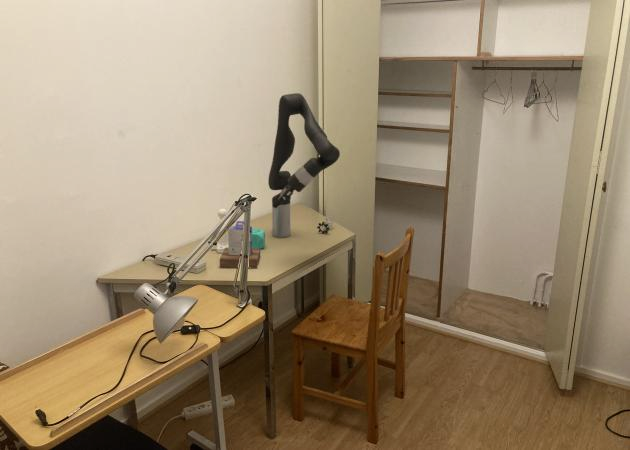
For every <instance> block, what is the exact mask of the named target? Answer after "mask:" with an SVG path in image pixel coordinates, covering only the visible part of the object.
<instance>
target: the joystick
mask: <svg viewBox="0 0 630 450" xmlns="http://www.w3.org/2000/svg"><path fill="white" fill-rule="evenodd" d="M226 213H227V214H228V210H227V209H225V208H220V209H219V210H217V216H218V217H219V221H220V220H221V219H222V218H223V217H224V216H225V215H226ZM225 248H228V231H227V232H226V233H225V234H224V235H223V237H222V238H221V239H220V238H219V242H218V244H217V246H214V247H213V248H212V249H211V250H212V251H213V250H216V252H217V253H218V254H222V253H223V251H224V249H225Z"/></svg>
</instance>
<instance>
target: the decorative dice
mask: <svg viewBox="0 0 630 450" xmlns="http://www.w3.org/2000/svg"><path fill="white" fill-rule="evenodd" d="M265 245H266V232H265V231H264V229H260V228H252V248H253V249H260V250H262V249H264V248H265Z"/></svg>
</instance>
